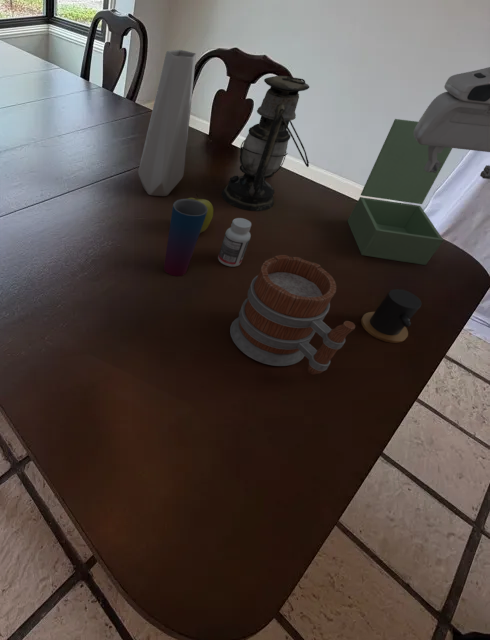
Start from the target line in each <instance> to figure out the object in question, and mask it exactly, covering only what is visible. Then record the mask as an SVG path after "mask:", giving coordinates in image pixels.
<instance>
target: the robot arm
mask: <svg viewBox="0 0 490 640" xmlns="http://www.w3.org/2000/svg"><path fill="white" fill-rule="evenodd" d="M443 87H444V90H445V91H444V92H442V93H440V94H438V95H437V96H436V97H435V98H434V99H433V100H431V102H430V104H429V105H428V106H427V107H426V109H425V111H424V112H423V113H422V115H421V117H420V118H419V120H418V121H417V122H418V124H417V125H416V127H415V129H414V138H415V139H416V141H417V142H418V143H419V144H422V145H430V146H429V147H428V158H429V160H428V161H427V163H426V165H425V167H424V170H425V171H426V172H434V173H435V172H437V170H438V168H439V167H440V165H441V163H440V162H439V161H438V160H437V153H441V152H442V151H443V149H444V148H445V147H448V148H452V149H456V150H457V149H458V150H468V151H475V152H485V153H490V66H488V67H485V68H480V69H476V70H471V71H467V72H461V73H456V74H453V75H450V76H449V77H448V78H447V80H446V82H445V83H444V86H443ZM479 176H480V177H481V178H482V179H485V180H490V165H488V164H486V165H485V166H484V168H483V170H482V171H481V172H480V173H479Z"/></svg>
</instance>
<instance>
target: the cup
mask: <svg viewBox="0 0 490 640" xmlns="http://www.w3.org/2000/svg"><path fill="white" fill-rule="evenodd" d="M207 211H208V209H207V207H206V205H204V204H203V203H201V202H199V201H197V200H193V199H188V198H180V199H176V200H175V201H174V202H173V204H172V211H171V216H170V223H169V228H168V229H169V230H168V236H167V242H166V243H167V244H166V250H165V257H164V262H163V263H164V264H163V270H164V272H165V273H167V274H168V275H170V276H174V277H181V276H184V275H186V273H187V270H188V269H189V265H190V262H191V260H192V258H193V257H192V256H193V254H194V252H195V251H194V250H195V248H196V245H197V242H198V239H199V237H200V234H201V233H200V231H201V228H202V225H203V223H204V220H205V217H206V214H207Z"/></svg>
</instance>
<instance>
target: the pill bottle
mask: <svg viewBox="0 0 490 640" xmlns="http://www.w3.org/2000/svg"><path fill="white" fill-rule="evenodd" d="M251 227H252V222H251V221H250V220H248V219H246V218H243V217H236V218H234V219H233V220H232V223H231V224H230V227H228V228H227V229H226V231H225V234H224V236H223V239H222V243H221V245H220V249H219V253H218V256H217V259H218V261H219V262H220V263H221V264H222V265H224V266H226V267H230V268H231V267H232V268H234V267H238V266H240V265H241V264H242V261H243V259H244V256H245V254H246V251H247V248H248V247H249V246H248V245H249V243H250V241H251V236H252V235H251V232H250V231H251Z"/></svg>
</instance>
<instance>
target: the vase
mask: <svg viewBox="0 0 490 640" xmlns="http://www.w3.org/2000/svg"><path fill="white" fill-rule="evenodd" d="M196 57H197V53H195V52H193V51H188V50H183V49H172V50H167V51H166V52H165V56H164V59H163V63H162V68H161V71H160V77H159V80H158V85H157V89H156V94H155V98H154V102H153V107H152V111H151V116H150V119H149V124H148V128H147V132H146V137H145V141H144V145H143V149H142V153H141V159H140V162H139V167H138V171H137V175H138V177H139V180H140V181H139V182H140V183H141V186H142V188H143V190H144V191H145V192H146V194H147V195H149V196H152V197H154V196H155V197H167V196H169V195H170V193H171V192H172V191H173V190H174V189H175V187H177V185H178V184H179V183H180V182H181V180H182V179H183V177H184V174H185V169H186V168H185V167H186V157H187V148H188V138H189V128H190V121H191V120H190V119H191V109H192V99H193V90H194V89H193V88H194V81H195V80H194V79H195V70H196V69H195V68H196Z"/></svg>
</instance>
